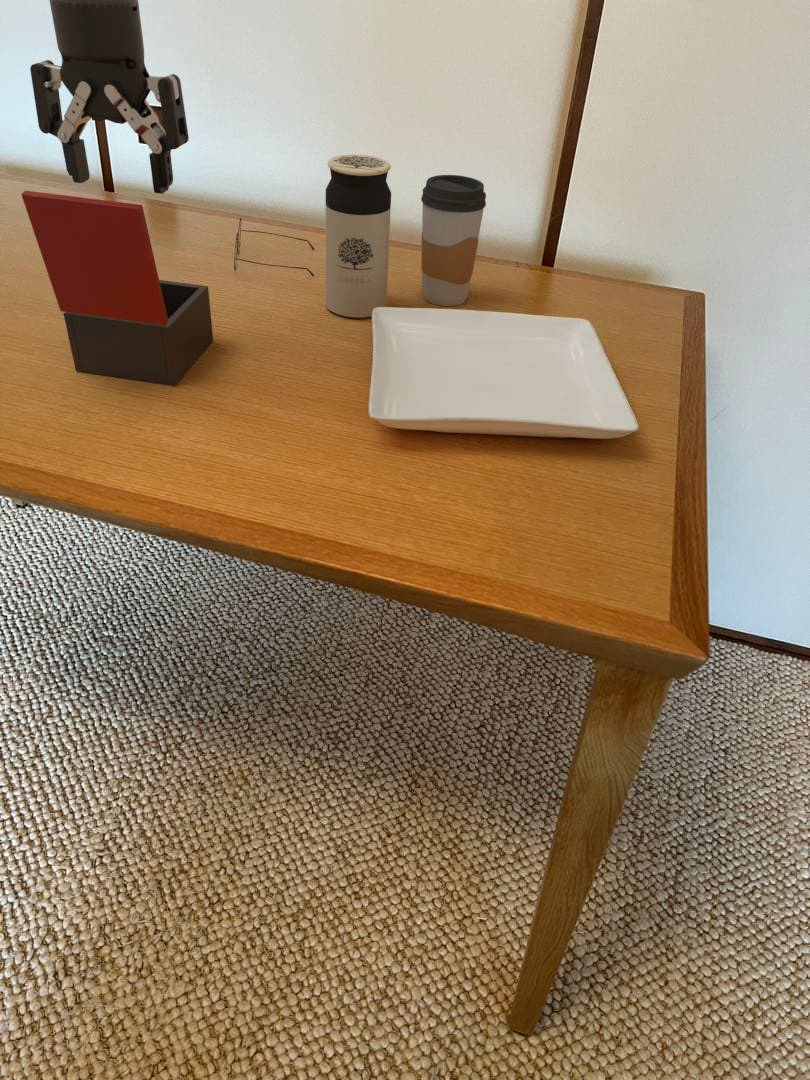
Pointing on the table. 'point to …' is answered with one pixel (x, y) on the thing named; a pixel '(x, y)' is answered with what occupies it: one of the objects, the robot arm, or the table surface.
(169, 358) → the open box
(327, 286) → the travel mug
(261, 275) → the table surface
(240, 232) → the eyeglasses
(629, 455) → the table surface
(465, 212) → the coffee cup
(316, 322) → the table surface
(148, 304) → the box lid
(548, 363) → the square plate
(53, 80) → the robot arm
